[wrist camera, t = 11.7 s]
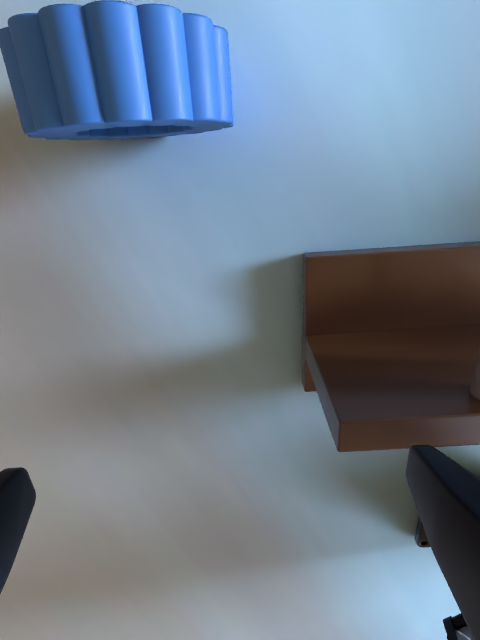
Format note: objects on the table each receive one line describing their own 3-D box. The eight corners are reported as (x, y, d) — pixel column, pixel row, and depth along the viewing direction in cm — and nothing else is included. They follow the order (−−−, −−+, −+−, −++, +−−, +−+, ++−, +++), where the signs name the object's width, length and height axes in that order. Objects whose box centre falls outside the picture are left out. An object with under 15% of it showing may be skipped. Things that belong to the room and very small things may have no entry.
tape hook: (501, 370, 22) (637, 479, 14) (301, 382, 22) (334, 495, 14) (577, 97, 16) (871, 45, 8) (304, 117, 16) (361, 82, 9)
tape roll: (249, 129, 15) (204, 112, 9) (99, 141, 17) (-33, 135, 10) (246, 56, 14) (192, -21, 8) (85, 76, 16) (-70, 24, 9)
